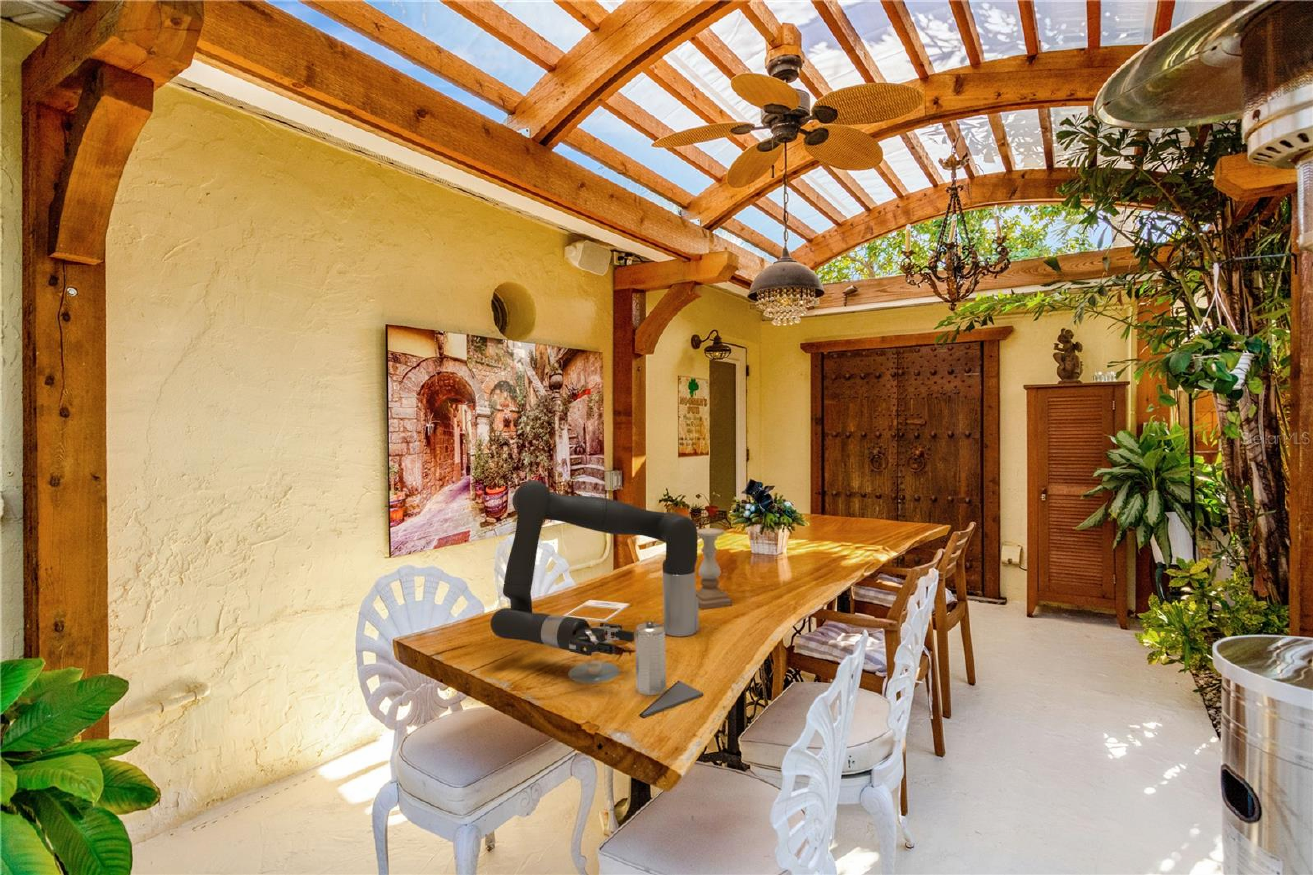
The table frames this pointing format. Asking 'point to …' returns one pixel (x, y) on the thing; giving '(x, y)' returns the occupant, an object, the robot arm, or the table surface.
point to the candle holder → (710, 573)
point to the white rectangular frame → (601, 605)
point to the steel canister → (650, 658)
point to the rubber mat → (672, 698)
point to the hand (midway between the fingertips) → (624, 643)
